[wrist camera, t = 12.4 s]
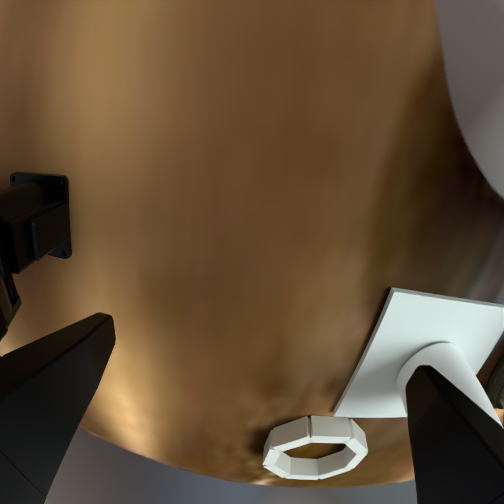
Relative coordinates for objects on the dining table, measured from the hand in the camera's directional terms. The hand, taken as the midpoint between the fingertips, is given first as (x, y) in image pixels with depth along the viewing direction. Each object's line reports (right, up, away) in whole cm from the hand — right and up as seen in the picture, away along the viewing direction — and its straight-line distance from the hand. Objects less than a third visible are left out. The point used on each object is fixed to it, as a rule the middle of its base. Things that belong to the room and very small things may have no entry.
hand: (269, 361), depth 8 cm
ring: (+6, -18, +20) cm, 27 cm away
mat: (+15, -7, +15) cm, 22 cm away
